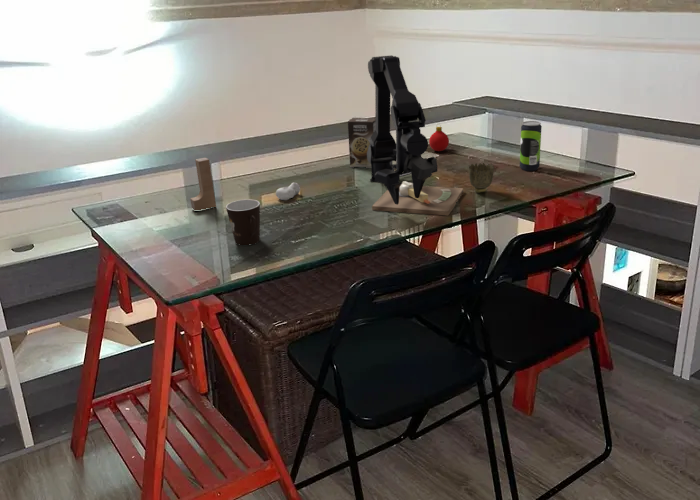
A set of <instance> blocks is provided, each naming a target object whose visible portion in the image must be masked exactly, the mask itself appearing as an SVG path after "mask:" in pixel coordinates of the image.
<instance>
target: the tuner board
mask: <svg viewBox="0 0 700 500" xmlns="http://www.w3.org/2000/svg"><path fill="white" fill-rule="evenodd" d="M421 191H422V192H424V193H426V194H428V200H429V201H430V203H428V204H427V203H425V202H423V203H422V202H420V201H419V200H417V199H415V198H413V197H411V196H403V195H401V194H400V187H399V204H398V205H397V204H395V203H394V201H393V199H392V197H391V195H390V193H389V191H388V189H387V190H386V191H385V192H383V194H381V196H380V197H379V198H378V199H377V200H376V201H375V202H374V203H373V204H372V206H371V210H372V211H378V212H379V211H382V212H395V213H408V214H409V213H410V214H421V215H422V214H424V215H436V216H437V215H439V216H449V215H450V213H451V212H452V211H453V209H454V208H455V206H456V204H457V203H458V202H459V200H460V198H461V197H462V195H463V194H462V193H464V188H461V187H446V186H445V187H444V186H428V185H425V186H424V185H423V187H422V190H421ZM461 194H462V195H461ZM460 196H461V197H460ZM458 199H459V200H458ZM456 202H457V203H456Z"/></svg>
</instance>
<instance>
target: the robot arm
mask: <svg viewBox="0 0 700 500" xmlns="http://www.w3.org/2000/svg"><path fill="white" fill-rule="evenodd" d="M367 69H368V74H369V76H370V78H371V80H372V82H373V83H374V85H375V86H374V87H375V88H374V89H375V94H374V95H375V104H374V105H375V112H374V114H375V131H374V133H373V134H372V136H371V138H370V145H369V147H368V151H367V160H368V161H369V163H370V164H371V168H370V169H371V178H370V179H369V182H375V183H381V184H382V185H384V186H385V187H386V189H387V190H388V191H389V193H390V195H391V197H392V199H393V201H394V203H395V204H397V205H398V204H399V187H400V186H401V184H402V182H401V181H400V180H401V177H404V176H408V175H410V174H411V181H412V182H411V183H413V189H414V195H415V198H419V196H420V193H421V190H422V187H423V186H424V184H425V182H426V180H427V179H429V178H430V177H432V176H433V174H434V173H437V172H438V162H437V161H438V160H437V158H436V157H435V156H430V157H428V158H427V157H424V158H423V157H422V155H423V154H424V153H425V152H427V149H428V147H429V140H428V139H427V137H426V136H425V135H424V134H423V133H421V128H426V127H425V126H426V125H425V124H426V116H425V113H424V110H423V109H424V108H423V107H422V104H421V103H420V102H419V101H418V98H417V97H416V95H415V94H414V93H413V92H411V91H409V88H408V86H407V82H406V79H405V77H404V74H403V70H402V69H401V61H400V57H399V56H396V55H381V56H379V55H378V56H372V57H371V59H369V61H368V63H367ZM391 99H392V100H391ZM391 120H392V122H393V127H394V128H395V138H394V136H393V135H392V133H391ZM393 162H396V163H394V164H393ZM395 169H396V170H395Z"/></svg>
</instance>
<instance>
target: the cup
mask: <svg viewBox="0 0 700 500" xmlns="http://www.w3.org/2000/svg"><path fill="white" fill-rule="evenodd" d="M494 169H495V167H494V165H493V164H489V163H486V164H485V163H484V162H483V163H482V162H479V164H478V162H477V163H475V164H473V163H471V164H470V165H468V177H469V183H470V185H471V186H472V187H473V188H474V192H475V194H486V193H487V191H488V188H489V187H490V186H491V184H492V182H493V178H494V171H495V170H494Z"/></svg>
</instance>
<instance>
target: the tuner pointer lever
mask: <svg viewBox="0 0 700 500" xmlns="http://www.w3.org/2000/svg"><path fill="white" fill-rule="evenodd" d="M401 183H402V184H401V186H400V194H401V195H403V196H411V197H413V198H415V195H414V189H413V182H408V181H406V180H404V181H402V182H401ZM415 199H417V200H419V201H420V202H422V203H423V202H425V203H427V204H428V203H430V201H429V200H428V194H426V193H424V192H422V191H421V193H420V196H419V198H415Z"/></svg>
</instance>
